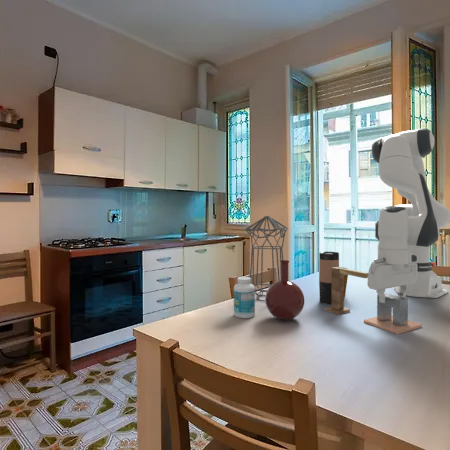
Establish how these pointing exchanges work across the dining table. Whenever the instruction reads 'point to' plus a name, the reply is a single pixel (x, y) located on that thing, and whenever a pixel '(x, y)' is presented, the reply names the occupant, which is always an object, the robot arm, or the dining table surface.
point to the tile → (390, 327)
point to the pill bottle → (244, 298)
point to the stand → (341, 288)
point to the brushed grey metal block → (398, 310)
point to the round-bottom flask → (284, 296)
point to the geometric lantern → (275, 225)
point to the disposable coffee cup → (345, 281)
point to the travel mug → (327, 275)
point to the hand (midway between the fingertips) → (392, 300)
